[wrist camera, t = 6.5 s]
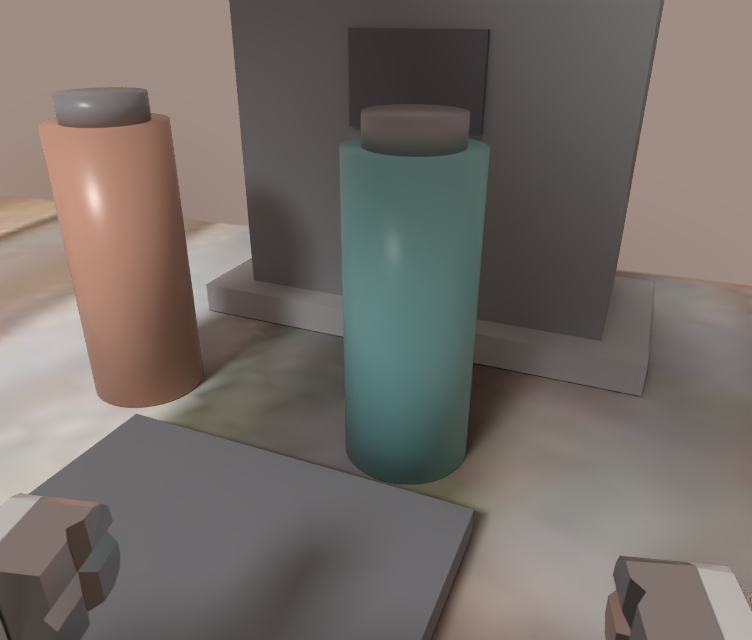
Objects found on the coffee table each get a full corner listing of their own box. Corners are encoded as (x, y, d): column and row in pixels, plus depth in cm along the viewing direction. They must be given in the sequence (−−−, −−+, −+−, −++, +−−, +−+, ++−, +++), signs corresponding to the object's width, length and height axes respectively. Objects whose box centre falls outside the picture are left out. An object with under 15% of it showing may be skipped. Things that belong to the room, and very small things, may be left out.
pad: (-285, 772, 14) (-307, 743, 13) (140, 435, 24) (136, 413, 24) (228, 1159, 9) (220, 1135, 9) (471, 534, 20) (474, 509, 19)
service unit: (209, 309, 35) (163, -65, 27) (299, 252, 43) (283, -47, 35) (641, 396, 27) (747, -94, 19) (649, 306, 35) (725, -62, 28)
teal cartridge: (325, 464, 23) (310, 117, 18) (374, 401, 27) (374, 98, 21) (445, 498, 21) (469, 127, 16) (479, 425, 25) (507, 105, 20)
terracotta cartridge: (72, 393, 27) (0, 95, 22) (145, 347, 31) (99, 83, 26) (157, 417, 25) (102, 102, 20) (223, 365, 29) (191, 88, 24)
